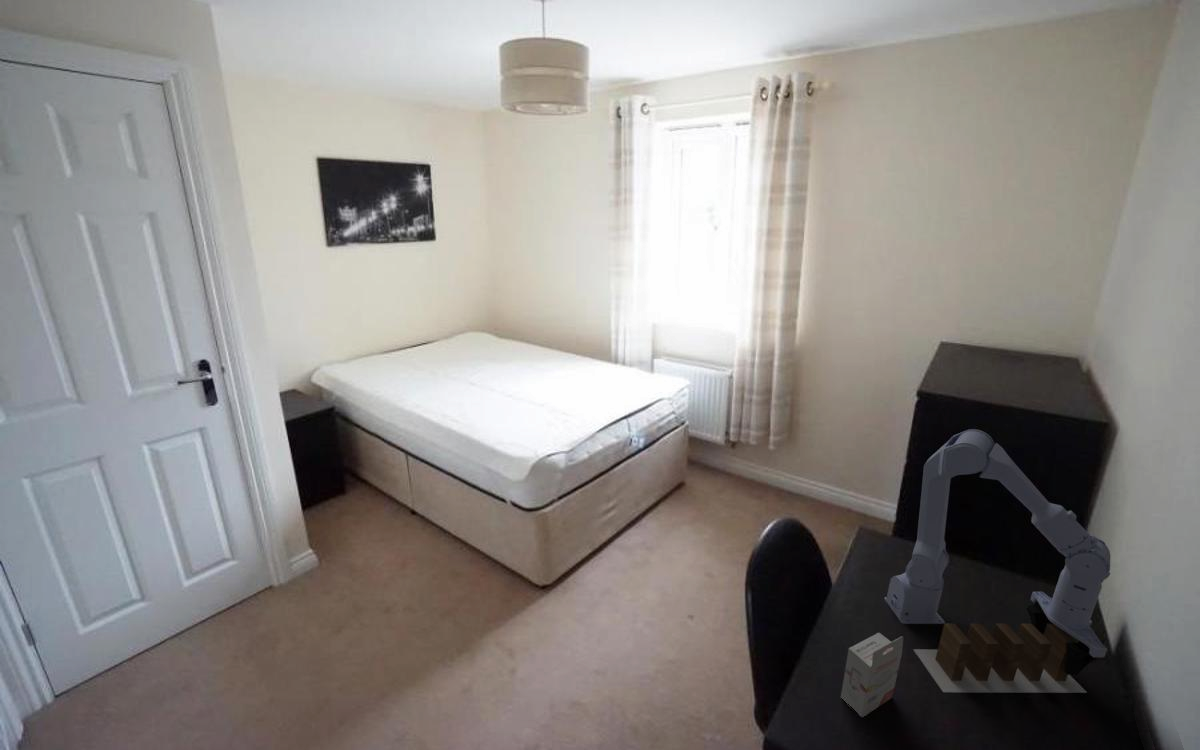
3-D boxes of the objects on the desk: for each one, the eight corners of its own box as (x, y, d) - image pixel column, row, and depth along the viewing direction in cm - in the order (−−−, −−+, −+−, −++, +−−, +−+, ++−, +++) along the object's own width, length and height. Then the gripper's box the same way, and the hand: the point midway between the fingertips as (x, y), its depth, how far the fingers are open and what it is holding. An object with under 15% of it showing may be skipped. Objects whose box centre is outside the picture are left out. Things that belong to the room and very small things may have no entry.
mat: (942, 693, 100) (943, 692, 99) (912, 650, 109) (913, 649, 109) (1086, 694, 100) (1087, 692, 99) (1044, 651, 109) (1044, 649, 109)
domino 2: (976, 680, 102) (987, 643, 99) (960, 659, 107) (970, 623, 104) (987, 680, 102) (998, 643, 99) (970, 659, 107) (980, 623, 104)
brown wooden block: (1055, 681, 102) (1068, 643, 99) (1035, 659, 107) (1046, 623, 104) (1065, 681, 102) (1078, 644, 99) (1045, 659, 107) (1057, 623, 104)
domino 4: (1029, 680, 102) (1041, 643, 99) (1009, 659, 107) (1021, 623, 104) (1039, 680, 102) (1052, 643, 99) (1019, 659, 107) (1031, 623, 104)
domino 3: (1002, 680, 102) (1014, 643, 99) (985, 659, 107) (995, 623, 104) (1013, 680, 102) (1025, 643, 99) (994, 659, 107) (1005, 623, 104)
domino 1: (950, 680, 102) (961, 643, 99) (935, 659, 107) (944, 623, 104) (961, 680, 102) (971, 643, 99) (945, 659, 107) (954, 623, 104)
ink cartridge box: (868, 679, 103) (881, 617, 98) (892, 699, 98) (907, 636, 94) (838, 697, 99) (850, 634, 94) (861, 719, 95) (875, 654, 90)
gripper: (1132, 629, 92) (1109, 689, 96) (1063, 573, 106) (1045, 627, 110) (1092, 629, 92) (1070, 689, 96) (1027, 573, 106) (1011, 627, 110)
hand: (1054, 656), depth 103 cm, fingers open, 7 cm apart
